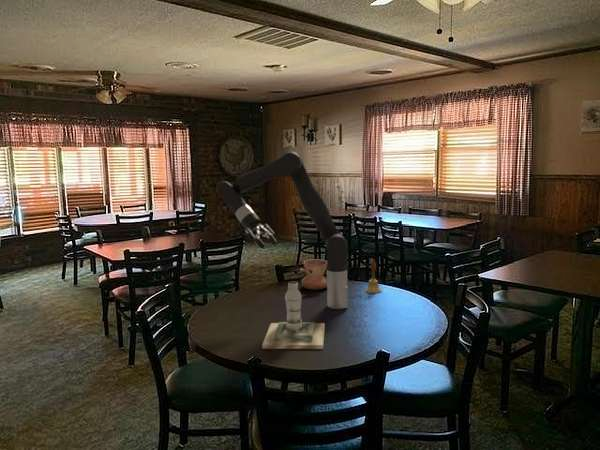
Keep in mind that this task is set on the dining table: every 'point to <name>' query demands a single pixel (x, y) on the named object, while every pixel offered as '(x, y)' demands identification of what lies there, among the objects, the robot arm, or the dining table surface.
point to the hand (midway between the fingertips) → (269, 245)
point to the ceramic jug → (314, 274)
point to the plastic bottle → (293, 309)
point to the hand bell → (373, 281)
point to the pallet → (294, 343)
